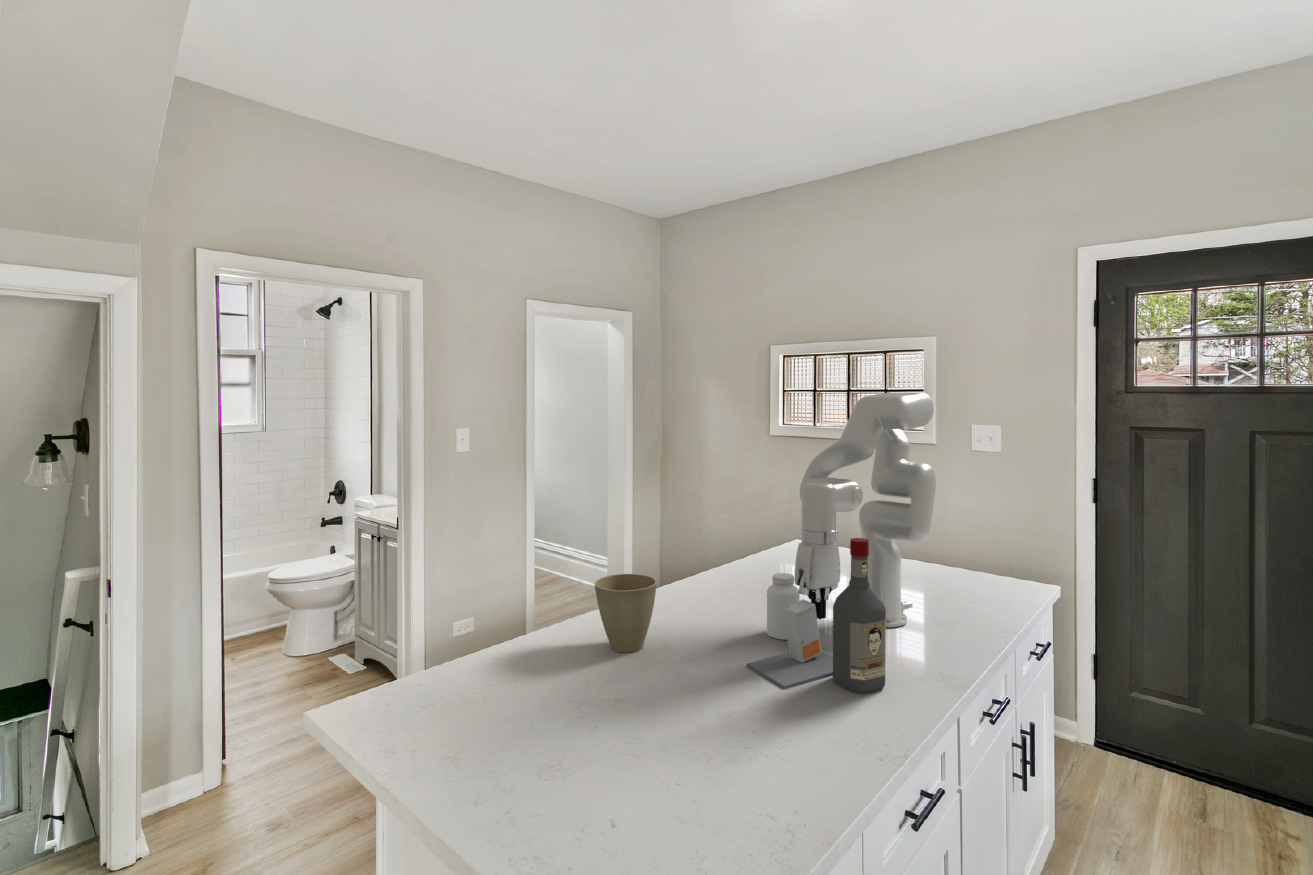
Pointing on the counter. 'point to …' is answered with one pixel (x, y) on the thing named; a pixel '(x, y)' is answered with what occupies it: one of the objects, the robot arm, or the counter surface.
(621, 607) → the plant pot
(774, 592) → the pill bottle
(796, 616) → the skincare box
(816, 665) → the mat
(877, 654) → the liquor
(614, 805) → the counter surface
